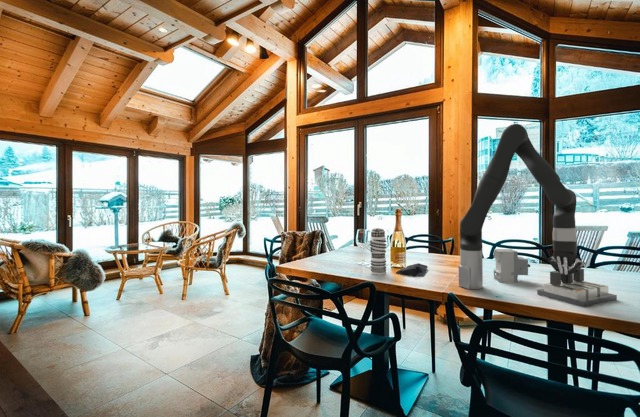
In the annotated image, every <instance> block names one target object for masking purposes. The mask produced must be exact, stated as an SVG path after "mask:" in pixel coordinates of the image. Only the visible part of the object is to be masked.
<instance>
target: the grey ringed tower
mask: <svg viewBox="0 0 640 417" xmlns="http://www.w3.org/2000/svg"><path fill="white" fill-rule="evenodd" d="M385 232H386V231H385V230H384V229H383V228H382V227H381V228H379V227H378V228H377V227H374V228H372V229H371V230H370V241H369V243H370V244H369V246H370V247H369V248H370V250H369V251H370V253H371V256H370V268H371V269H370V274H372V275H376V274H377V275H378V276H379V275H386V274H387V263H386V262H387V259H386V253H387V250H386V249H387V247H386V246H387V244H386V243H387V238H386V233H385ZM377 275H376V276H377Z"/></svg>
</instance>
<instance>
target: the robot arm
mask: <svg viewBox="0 0 640 417" xmlns="http://www.w3.org/2000/svg"><path fill="white" fill-rule="evenodd" d="M497 143H498V144H497V146H496V148H495V152H494V154H493V155H492V157H491V159H490V161H489V163H488V165H487V167H486V168H485V171H484V173H483V175H482V177H481V178H480V180H479V182H478V185H477V188H476V191H475V193H474V196H473V201H472V203H471V205H470V207H468V210H467V212H466V213H465V215H464V216H463V217H462V218H461V219H460V222H459V248H460V250H459V255H460V256H459V258H460V259H459V260H460V261H459V262H460V263H459V265H458V286H459V287H461V288H464V289H467V290H480V289H483V286H484V281H483V278H484V277H483V274H484V272H483V271H484V270H483V231H482V230H483V226H484V223H485V220H486V218H487V215H488V213H489V210H490V209H491V207H492V205H493V204H494V203H495V201H496V199H497V198H498V196H499V194H500V193H501V191H502V189H503V187H504V185H505V183H506V181H507V178H508V175H509V171H510V167H511V164H512V160H513V158H514V155H515V154H516V155H517V156H518V158H520V160H521V161H523V163H524V165H525V167H526V168H527V169H528V171H529V172H530V174H531V176H532V177H533V178H534V179H535V181H536V182H537V183H538V184H539V185H540V187H541V188H542V190H543V191H544V195H545V196H546V197H547V199H548V201H549V202H550V203H551V205H554V214H553V216H552V235H551V236H552V250H553V253H552V256H551V257H547V258H546V260H547V261H548V263H549V264H550V266H551V267H552V268H553V271H557V272H560V274H561V282H562V283H564V284H569V283H570V282H571V274H573V273H577V272H578V271H579V270H580V269H583V267H584V266H585V265H586V262H585V261H583V260H581V259H580V258H579V256H578V254H577V253H578V241H577V240H578V237H577V230H576V217H575V216H576V209H577V196H576V193H575V192H574V191H573V190H572V189H570V188H566V186H565V184H563V183H562V181H561V177H560V176H559V174H558V173H557V172H556V171H555V169H554V168H553V167H552V165H551V164H549V162H548V161H547V160H546V158H545V159H544V157H543V156H542V155H541V154H540V153H539V152H538V150H537V149H536V148H535V146H534V145H533V143H532V141H531V139H530V137H529V133H528V132H527V129H526V128H525V127H524V126H523V125H522V124H520V123H512V124H510V125H508V126H507V127H506V128H504V130H503V131H502V133H501V135H500V137H499V142H497Z"/></svg>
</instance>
